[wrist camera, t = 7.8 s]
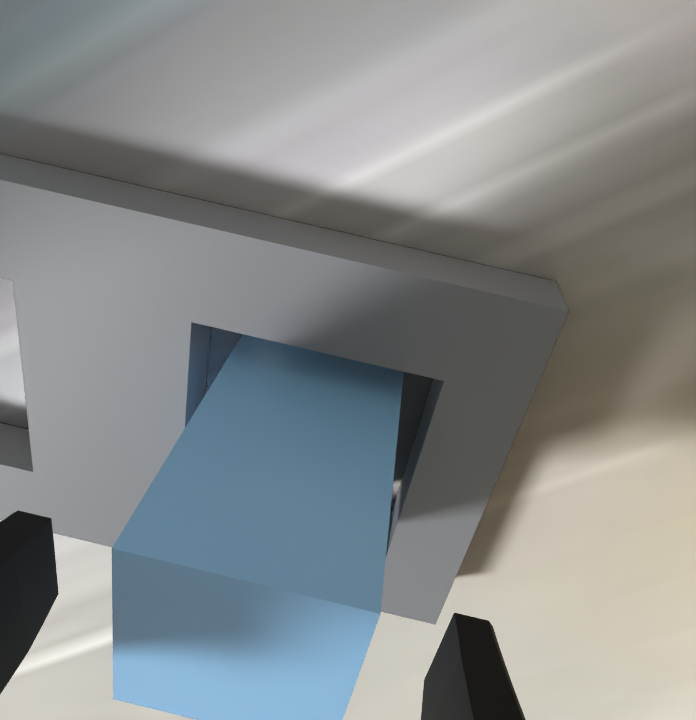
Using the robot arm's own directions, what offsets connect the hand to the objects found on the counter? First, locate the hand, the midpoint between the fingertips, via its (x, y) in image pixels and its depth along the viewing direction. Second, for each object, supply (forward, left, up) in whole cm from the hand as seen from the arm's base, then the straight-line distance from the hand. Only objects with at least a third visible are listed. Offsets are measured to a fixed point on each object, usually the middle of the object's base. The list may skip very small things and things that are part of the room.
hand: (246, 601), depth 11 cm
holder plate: (-4, +2, -6) cm, 7 cm away
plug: (0, 0, -6) cm, 6 cm away
